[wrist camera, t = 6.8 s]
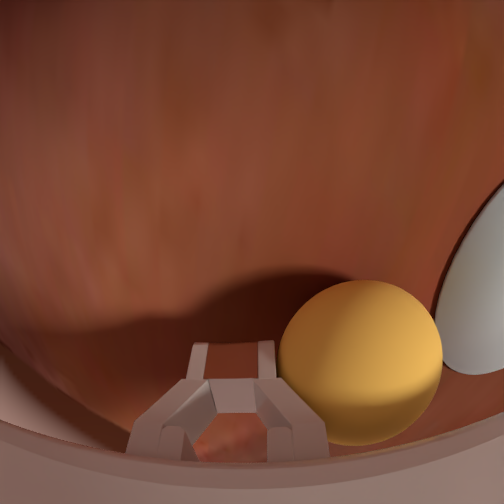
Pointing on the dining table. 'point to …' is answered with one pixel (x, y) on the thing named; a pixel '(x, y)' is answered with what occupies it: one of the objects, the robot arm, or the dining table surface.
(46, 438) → the robot arm
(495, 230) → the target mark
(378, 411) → the ball
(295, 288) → the dining table surface
